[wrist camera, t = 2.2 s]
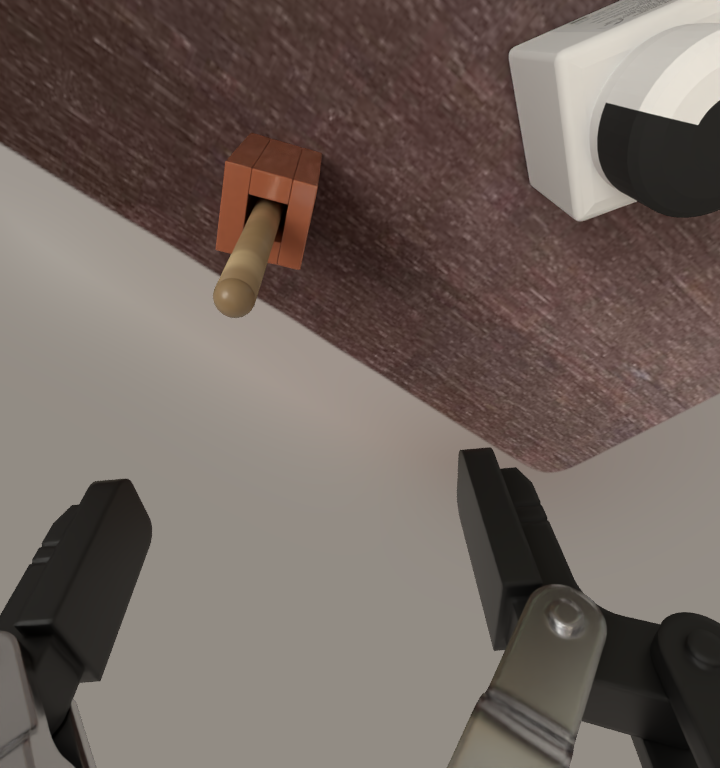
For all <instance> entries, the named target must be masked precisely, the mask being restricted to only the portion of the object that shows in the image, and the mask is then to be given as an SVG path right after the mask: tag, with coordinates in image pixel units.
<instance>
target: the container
mask: <svg viewBox="0 0 720 768" xmlns="http://www.w3.org/2000/svg"><path fill="white" fill-rule="evenodd" d="M509 63H510V69H511V75H512V81H513V87H514V93H515V98H516V104H517V110H518V116H519V122H520V128H521V134H522V140H523V145H524V151H525V157H526V163H527V169H528V175H529V181H530V184H531V186H532V187H534V188H535V189H536V190H538V191H539V192H540V193H541V194H543V195H544V196H545V197H547V198H548V199H549V200H550V201H552V202H553V203H554V204H556V205H557V206H558V207H559V208H561V209H562V210H563V211H565V212H566V213H567V214H568V215H570V216H571V217H572V218H574V219H575V220H577V221H585V220H587V219H590V218H593V217H596V216H598V215H601V214H604V213H607V212H609V211H612V210H615V209H618V208H620V207H623V206H626V205H629V204H631V203H634V202H637V201H638V202H640V203H642V204H643V205H645V206H647V207H649V208H651V209H652V210H654V211H656V212H658V213H661V214H664V215H667V216H672V217H696V216H701V215H705V214H709V213H712V212H715V211H717V210H720V0H620V1H618V2H616V3H614V4H611V5H609V6H607V7H604V8H602V9H600V10H598V11H595V12H593V13H591V14H588V15H586V16H584V17H581V18H579V19H577V20H575V21H572V22H570V23H568V24H565V25H563V26H561V27H559V28H556V29H554V30H552V31H549V32H547V33H545V34H542V35H540V36H538V37H536V38H533V39H531V40H529V41H526V42H524V43H522V44H519V45H517V46H515V47H514V48H512V49H511V50H510V52H509Z"/></svg>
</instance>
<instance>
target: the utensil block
mask: <svg viewBox="0 0 720 768" xmlns="http://www.w3.org/2000/svg"><path fill="white" fill-rule="evenodd" d="M321 161H322V153H319V152H316V151H313V150H309V149H306V148H302V147H299V146H295V145H292V144H288V143H285V142H281V141H278V140H275V139H271V138H268V137H264V136H261V135H258V134H254V133H250V134H249V135H248V137H247V138H246V139H245V140H244V141H243V142H242V143H241V145H240V146H239V147H238V148H237V149H236V150H235V151H234V152H233V154H232V155H231V156H230V157H229V158H228V159H227V160H226V162H225V170H224V179H223V188H222V197H221V205H220V214H219V223H218V232H217V241H216V250H218V251H222V252H226V253H230V254H232V252H233V250H234V248H235V246H236V243H237V241H238V239H239V237H240V235H241V233H242V231H243V229H244V227H245V225H246V223H247V221H248V219H249V217H250V215H251V212H252V210H253V208H254V206H255V204H256V202H257V200H258V198H259V197H261V198H265V199H268V200H272V201H276V202H280V203H283V204H285V207H284V210H283V214H282V217H281V220H280V223H279V227H278V230H277V233H276V236H275V240H274V243H273V246H272V249H271V252H270V256H269V259H268V262H267V263H271V264H276V265H277V264H278V265H280V266H284V267H289V268H293V269H297V270H300V268H301V263H302V259H303V254H304V250H305V245H306V241H307V236H308V231H309V227H310V222H311V218H312V213H313V208H314V204H315V199H316V195H317V190H318V184H319V176H320V168H321Z"/></svg>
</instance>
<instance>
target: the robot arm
mask: <svg viewBox="0 0 720 768" xmlns="http://www.w3.org/2000/svg"><path fill="white" fill-rule="evenodd" d="M458 459H459V460H458V482H457V503H458V510H459V516H460V520H461V524H462V528H463V532H464V536H465V540H466V544H467V548H468V552H469V555H470V560H471V563H472V567H473V571H474V575H475V579H476V583H477V587H478V591H479V595H480V599H481V602H482V606H483V610H484V614H485V618H486V622H487V626H488V630H489V634H490V637H491V642H492V646H493V649H494V651H496V650H505V652H504V654H503V656H502V659H501V661H500V663H499V665H498V668H497V670H496V672H495V674H494V676H493V679H492V681H491V683H490V686H489V687H488V689H487V691H486V692H485V693H483V694H482V695H481V697H480V698H479V700H478V702H477V704H476V706H475V708H474V710H473V712H472V714H471V717H470V718H469V721H468V723H467V725H466V727H465V729H464V731H463V734H462V736H461V738H460V741H459V743H458V745H457V747H456V749H455V751H454V754H453V756H452V758H451V760H450V762H449V764H448V767H447V768H569V766H570V763H571V759H572V755H573V749H574V744H575V740H576V737H577V734H578V730H579V727H580V723H581V721H584V722H587V723H591V724H594V725H598V726H601V727H604V728H608V729H612V730H615V731H618V732H622V733H625V734H629V735H631V738H632V740H633V743H634V746H635V748H636V751H637V754H638V757H639V760H640V762H641V765H642V768H720V623H718V622H716V621H714V620H712V619H710V618H708V617H706V616H703V615H699V614H695V613H687V612H682V613H675V614H672V615H670V616H668V617H666V618H665V619H664V620H663V621H662V623H661V625H660V624H656V623H651V622H647V621H642V620H638V619H634V618H629V617H625V616H621V615H618V614H614V613H612V612H610V611H607V610H605V609H603V608H602V607H600V606H598V605H597V604H595V602H594V601H593V600H591V599H590V598H589V597H588V596H587V595H585V594H584V593H583V592H582V591H581V589H580V588H579V587H578V585H577V584H576V582H575V580H574V578H573V576H572V573H571V571H570V569H569V566H568V564H567V562H566V559H565V557H564V555H563V553H562V550H561V548H560V546H559V543H558V541H557V539H556V536H555V534H554V532H553V530H552V527H551V525H550V523H549V521H547V516H546V514H545V511H544V509H543V507H542V506H541V504H540V500H539V498H538V495H537V493H536V491H535V488H534V486H533V484H532V482H531V481H529V479H528V478H526V477H525V476H524V475H523V474H522V473H521V472H520V471H519V470H518V469H517V468H516V467H515V468H504V469H500V468H499V465H498V462H497V460H496V457H495V454H494V452H493V450H492V448H479V449H467V450H460V451H459V458H458ZM151 538H152V525H151V521H150V518H149V516H148V514H147V512H146V510H145V508H144V506H143V504H142V502H141V500H140V498H139V496H138V494H137V492H136V490H135V488H134V486H133V484H132V483H131V481H130V480H129V479H116V480H105V481H95V482H93V483H92V484H91V485H90V486H89V488H88V490H87V491H86V493H85V495H84V497H83V499H82V500H81V502H80V504H79V505H72V506H71V507H70V508H69V509H68V510H67V511H66V512H65V513H64V514H63V515H61V516H60V517H59V518H58V519H57V520H56V521H55V522H54V523H53V525H52V527H51V528H50V530H49V532H48V534H47V535H46V537H45V539H44V540H43V542H42V547H41V548H39V549H38V551H37V553H36V554H35V556H34V558H33V560H32V564H30V565H29V566H28V568H27V570H26V572H25V573H24V575H23V577H22V579H21V580H20V582H19V584H18V586H17V587H16V589H15V591H14V592H13V594H12V596H11V597H10V599H9V601H8V603H7V604H6V606H5V608H4V610H3V611H2V613H1V615H0V768H96V765H95V761H94V758H93V755H92V752H91V748H90V745H89V742H88V739H87V735H86V732H85V729H84V726H83V723H82V719H81V716H80V713H79V710H78V706H77V704H76V702H75V700H74V699H73V697H74V695H75V692H76V690H77V687H78V685H79V683H82V682H94V681H100V680H101V678H102V675H103V672H104V670H105V667H106V664H107V661H108V659H109V656H110V653H111V651H112V648H113V645H114V642H115V639H116V637H117V634H118V631H119V629H120V626H121V623H122V620H123V618H124V615H125V612H126V609H127V606H128V604H129V601H130V598H131V596H132V593H133V590H134V587H135V585H136V582H137V579H138V576H139V574H140V571H141V568H142V566H143V563H144V560H145V557H146V555H147V552H148V549H149V546H150V543H151Z"/></svg>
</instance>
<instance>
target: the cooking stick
mask: <svg viewBox="0 0 720 768" xmlns="http://www.w3.org/2000/svg"><path fill="white" fill-rule="evenodd" d="M284 207H285V204H283V203H280V202H276V201H272V200H268V199H265V198H261V197H259V198H258V200H257V202H256V204H255V206H254V208H253V210H252V212H251V215H250V217H249V219H248V221H247V223H246V225H245V227H244V229H243V231H242V233H241V235H240V237H239V239H238V241H237V243H236V246H235V248H234V250H233V252H232V254H231V256H230V258H229V260H228V262H227V264H226V266H225V268H224V270H223V272H222V274H221V277H220V279H219V281H218V283H217V285H216V287H215V289H214V293H213V299H214V303H215V306H216V307H217V309H218V310H219V311H220V312H221V313H222V314H224V315H226V316H228V317H232V318H239V317H243V316H245V315H246V314H248V313H249V312H250V311H251V310H252V308H253V306H254V304H255V301H256V298H257V295H258V291H259V288H260V285H261V282H262V278H263V275H264V272H265V269H266V265H267V262H268V259H269V256H270V252H271V249H272V246H273V243H274V240H275V236H276V233H277V230H278V227H279V223H280V220H281V217H282V214H283V210H284Z"/></svg>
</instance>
